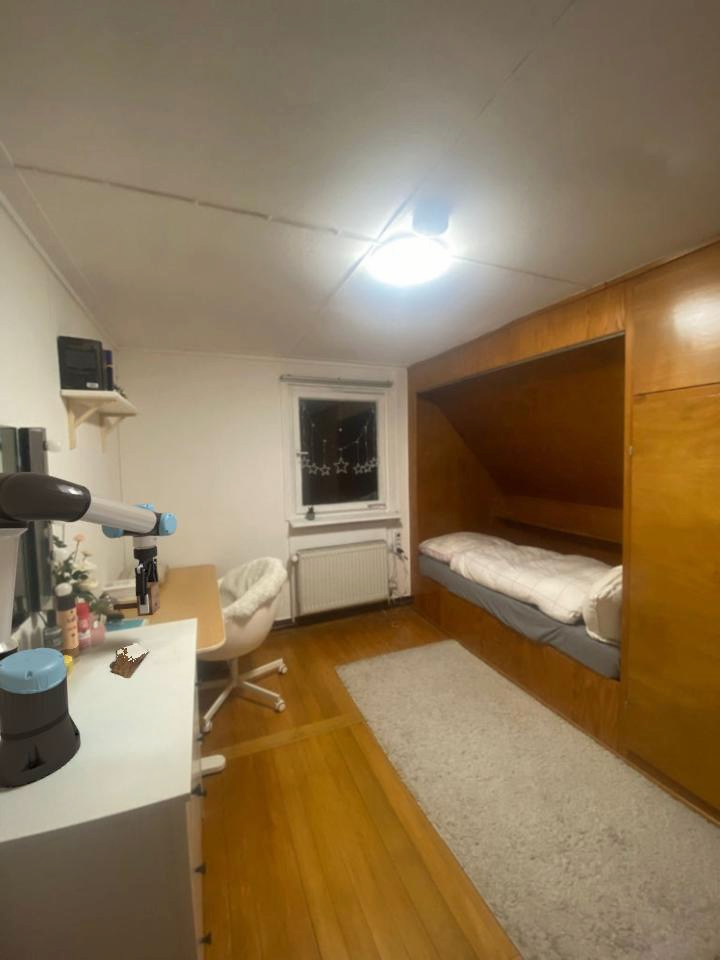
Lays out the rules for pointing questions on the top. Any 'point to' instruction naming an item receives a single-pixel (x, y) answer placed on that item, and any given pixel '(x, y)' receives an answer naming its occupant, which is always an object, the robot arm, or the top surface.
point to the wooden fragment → (126, 664)
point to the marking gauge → (152, 599)
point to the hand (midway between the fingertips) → (149, 608)
